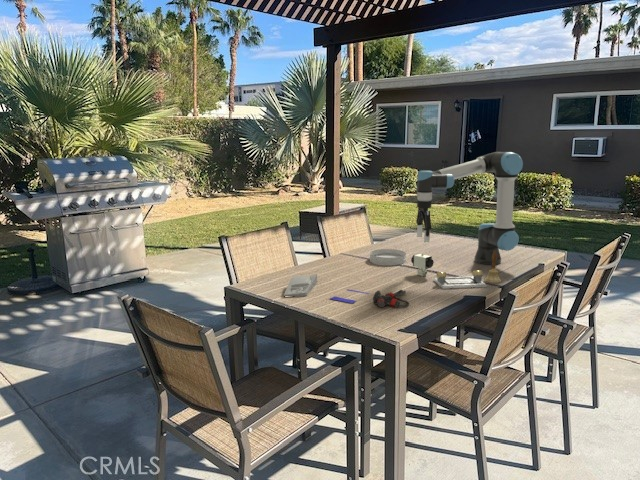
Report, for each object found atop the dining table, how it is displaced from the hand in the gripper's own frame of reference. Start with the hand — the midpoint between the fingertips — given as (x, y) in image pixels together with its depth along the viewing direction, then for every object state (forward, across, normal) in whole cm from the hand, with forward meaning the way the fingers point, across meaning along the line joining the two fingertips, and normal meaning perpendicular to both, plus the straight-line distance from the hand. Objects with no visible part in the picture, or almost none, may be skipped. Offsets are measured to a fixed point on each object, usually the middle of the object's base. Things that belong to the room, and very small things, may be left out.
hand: (423, 239), depth 258 cm
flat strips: (+21, +27, -42) cm, 54 cm away
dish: (+20, -33, -12) cm, 41 cm away
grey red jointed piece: (+21, +40, -24) cm, 51 cm away
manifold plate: (+20, +18, +14) cm, 30 cm away
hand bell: (+20, +15, +33) cm, 42 cm away
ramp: (+21, +17, -67) cm, 72 cm away
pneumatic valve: (+20, 0, 0) cm, 20 cm away
